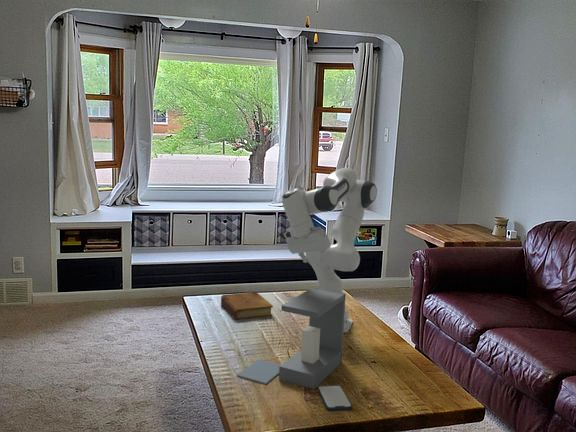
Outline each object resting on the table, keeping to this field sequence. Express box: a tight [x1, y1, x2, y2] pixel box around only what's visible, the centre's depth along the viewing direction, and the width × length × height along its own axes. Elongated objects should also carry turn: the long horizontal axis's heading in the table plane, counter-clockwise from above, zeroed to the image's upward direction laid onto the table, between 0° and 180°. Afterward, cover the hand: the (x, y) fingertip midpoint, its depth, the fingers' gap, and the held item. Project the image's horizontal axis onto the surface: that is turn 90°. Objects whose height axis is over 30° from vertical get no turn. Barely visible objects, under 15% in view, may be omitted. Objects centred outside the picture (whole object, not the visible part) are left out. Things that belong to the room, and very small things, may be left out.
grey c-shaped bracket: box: [278, 287, 346, 390], centre depth 209 cm, size 26×14×28 cm, turn 153°
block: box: [300, 325, 320, 364], centre depth 208 cm, size 5×5×12 cm
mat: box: [236, 358, 281, 385], centre depth 209 cm, size 16×12×1 cm
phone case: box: [317, 385, 353, 412], centre depth 191 cm, size 9×2×16 cm
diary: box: [220, 291, 274, 321], centre depth 275 cm, size 23×19×6 cm
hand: (314, 261), depth 224 cm, fingers open, 8 cm apart
